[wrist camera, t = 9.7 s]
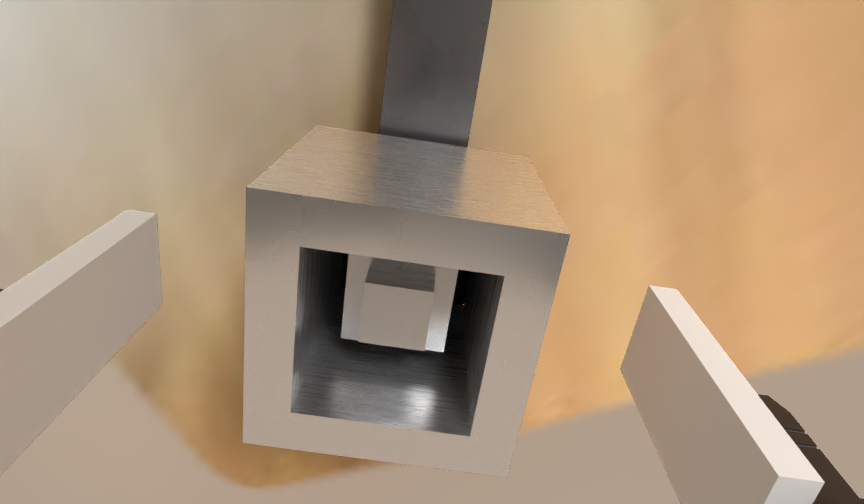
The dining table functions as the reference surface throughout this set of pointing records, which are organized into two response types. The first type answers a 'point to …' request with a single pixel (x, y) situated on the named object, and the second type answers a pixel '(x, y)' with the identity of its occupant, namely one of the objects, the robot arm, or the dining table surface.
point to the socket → (409, 242)
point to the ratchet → (427, 121)
